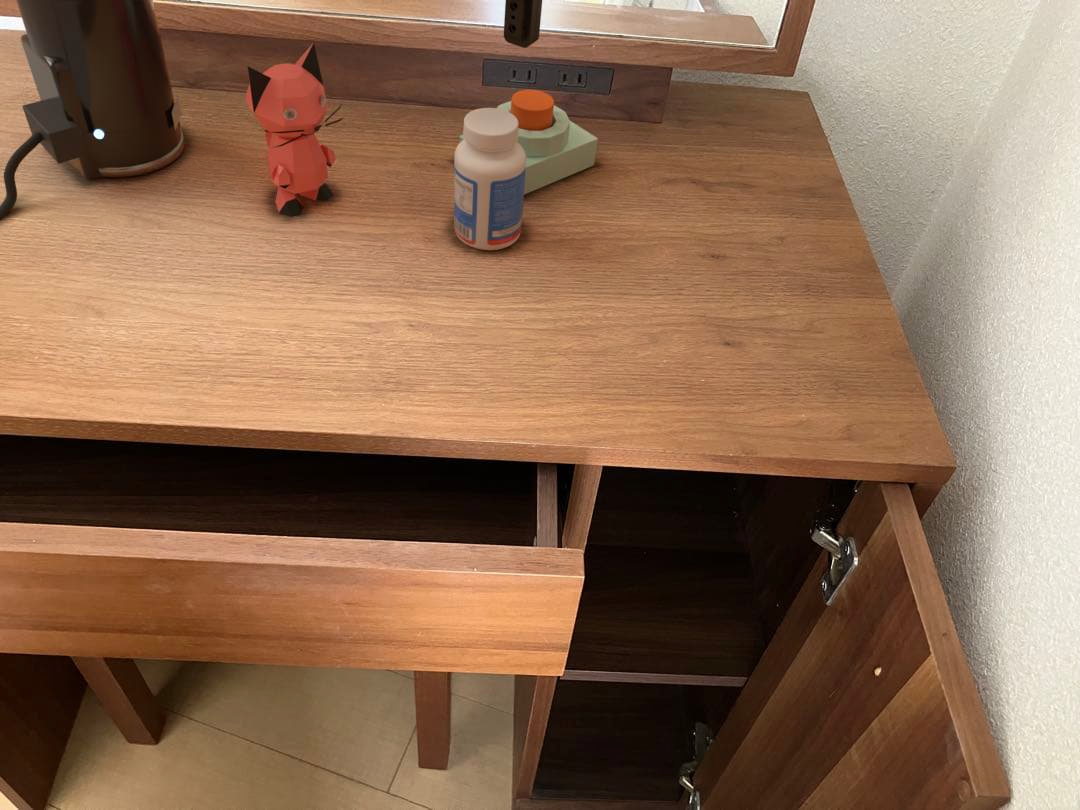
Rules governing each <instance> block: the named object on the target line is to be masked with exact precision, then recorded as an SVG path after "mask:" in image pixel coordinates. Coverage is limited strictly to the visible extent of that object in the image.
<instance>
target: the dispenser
mask: <svg viewBox="0 0 1080 810" xmlns="http://www.w3.org/2000/svg"><path fill="white" fill-rule="evenodd" d="M496 108H497V109H502V110H505V111H508V112H510V113H511V100H510V101H507V102H503V103H501V104H499V105H498V106H497V107H496ZM458 140H459V141H458V144H459V143H460V142H461V141H463V140H464V136H463V134H461V135H459V139H458ZM598 141H599V138H598V137H597V136H595V135H593V134H592V133H590V132H589V131H587V130H585V129H584V128H582V127H581V126H579V125H577V124H576V123H575V122H573V121H571V120H570V119H569V117H568V114H567V112H566V111H564V110H563V109H561V108H560V107H558V106H557V105H555V104H554V109H553V118H552V125H551V127H550V128H548V129H545V130H543V131H528V130H524V129H520V128H518V141H517V142H518V143H519V144H520V145H521V147H522V148H523V150H524V152H525V155H526V169H525V184H524V195H527V194H529V193H531V192H534V191H536V190H538V189H541V188H543V187H546V186H548V185H550V184H552V183H555V182H558V181H560V180H562V179H564V178H565V179H566V178H567V177H570V176H572V175H574V174H577V173H579V172H581V171H584V170H586V169H588V168H591V167H593V166H595V161H596V155H597V149H598V143H599V142H598Z"/></svg>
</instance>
